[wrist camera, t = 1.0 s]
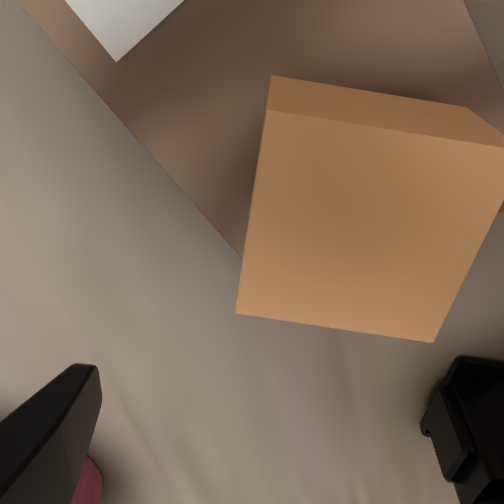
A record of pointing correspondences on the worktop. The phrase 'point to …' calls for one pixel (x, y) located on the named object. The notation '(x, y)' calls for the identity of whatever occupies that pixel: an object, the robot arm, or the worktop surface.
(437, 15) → the post board
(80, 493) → the plant pot
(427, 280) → the orange tan square block
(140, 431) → the worktop surface
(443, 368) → the worktop surface
